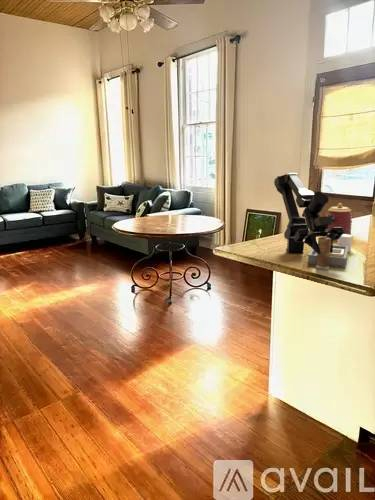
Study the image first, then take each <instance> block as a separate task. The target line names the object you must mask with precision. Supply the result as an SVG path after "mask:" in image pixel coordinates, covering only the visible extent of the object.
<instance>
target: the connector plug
mask: <svg viewBox="0 0 375 500" xmlns="http://www.w3.org/2000/svg"><path fill="white" fill-rule="evenodd" d="M317 243H318V246H319V249H320V254H318V253H317V265H315V268H316V269H317V270H318V271H319V270H320V271H329V270H330V267H329V260H330V248H331V238H327V237H325V236H323V237H318V240H317Z"/></svg>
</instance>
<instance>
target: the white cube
mask: <svg viewBox="0 0 375 500" xmlns="http://www.w3.org/2000/svg"><path fill="white" fill-rule="evenodd" d="M353 240H354V235H353V234H351V235H350V234H343V235H342V236H341V237H340V238H339V239H338V240H336V242H337V245H339V246H348V252H351V251H352V245H353Z"/></svg>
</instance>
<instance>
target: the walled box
mask: <svg viewBox="0 0 375 500" xmlns="http://www.w3.org/2000/svg"><path fill="white" fill-rule="evenodd" d="M348 254H349V251H348V246H339V245H336V244H333V252H332V253H330V260H329V268H338V269H339V268H341V269H345V268H346V265H347V260H348V256H349V255H348ZM307 255H308V257H307V265H310V266H311V265H312V266H316V265H317V252H316V251H315V250H314V249H312V248H311V249H310V251H309V253H308V254H307Z"/></svg>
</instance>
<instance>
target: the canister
mask: <svg viewBox="0 0 375 500" xmlns="http://www.w3.org/2000/svg"><path fill="white" fill-rule="evenodd" d="M327 211H328V212H326V213H325V215H326V216H329V215H334V217H335V222H334V223H332V225H328V228H327V229H326V231H330V230H331V229H332V228H333V227H342V228H343V229H344V233H343V234H350V235H352V225H353V224H352V222H353V220H352V217H353V215H354V214H353V213H352V209H351V208H349V207H348V206H344V205H343V203H341V202H339V203H337V206H331V207H330V208H328V210H327Z"/></svg>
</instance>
